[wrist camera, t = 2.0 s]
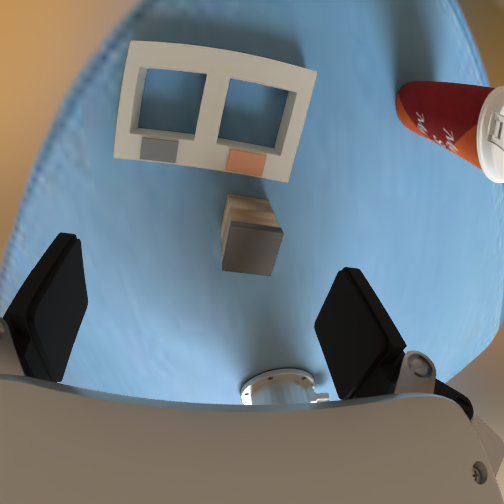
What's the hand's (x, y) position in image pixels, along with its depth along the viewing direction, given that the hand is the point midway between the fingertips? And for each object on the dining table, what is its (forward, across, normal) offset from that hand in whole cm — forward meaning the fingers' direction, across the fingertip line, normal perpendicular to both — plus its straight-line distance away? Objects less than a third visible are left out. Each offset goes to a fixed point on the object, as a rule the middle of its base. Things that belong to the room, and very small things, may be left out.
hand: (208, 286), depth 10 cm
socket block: (+19, +1, -4) cm, 19 cm away
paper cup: (+19, -19, -10) cm, 29 cm away
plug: (+19, -4, +6) cm, 20 cm away
